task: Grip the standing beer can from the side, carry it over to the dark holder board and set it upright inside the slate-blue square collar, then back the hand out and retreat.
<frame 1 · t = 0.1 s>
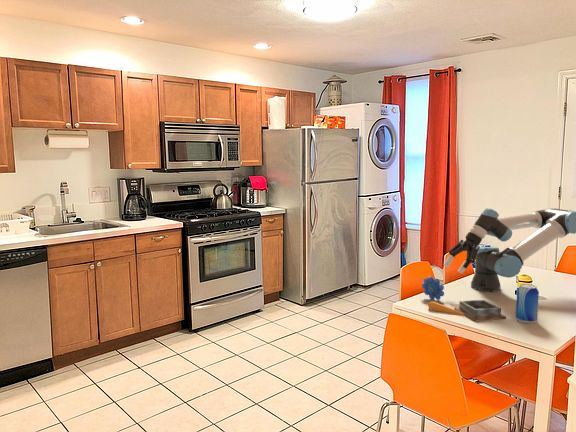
hand: (452, 269, 230), 15 cm above the table, tool tilted 35°, fingers open, 13 cm apart
carrot: (449, 314, 210), on the table
holder: (479, 314, 208), on the table
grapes: (431, 300, 229), on the table
beer can: (526, 321, 199), on the table
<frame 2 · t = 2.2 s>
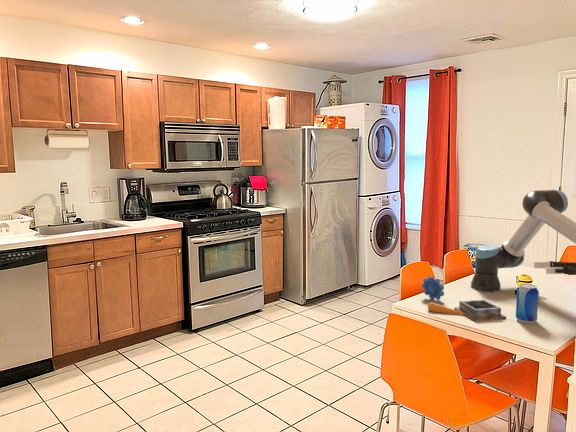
hand: (540, 267, 197), 24 cm above the table, tool horizontal, fingers open, 13 cm apart
carrot: (449, 314, 209), on the table, touching holder
everything else where it was.
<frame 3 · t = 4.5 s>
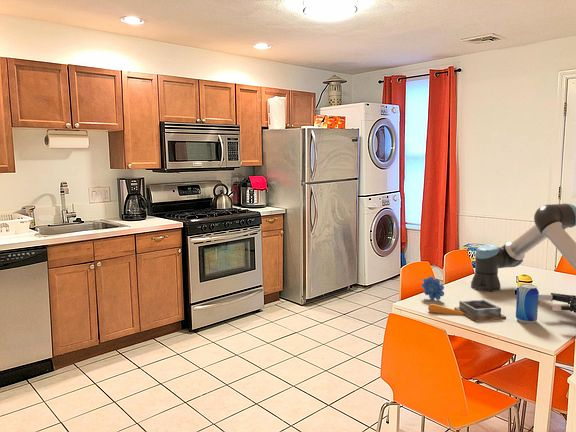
hand: (544, 302, 197), 9 cm above the table, tool horizontal, fingers open, 13 cm apart
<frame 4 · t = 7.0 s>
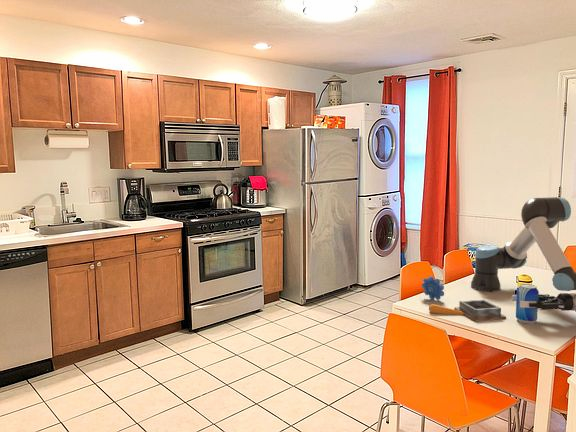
hand: (516, 301, 198), 9 cm above the table, tool horizontal, fingers closed on beer can, 8 cm apart
beer can: (526, 321, 199), on the table, touching gripper
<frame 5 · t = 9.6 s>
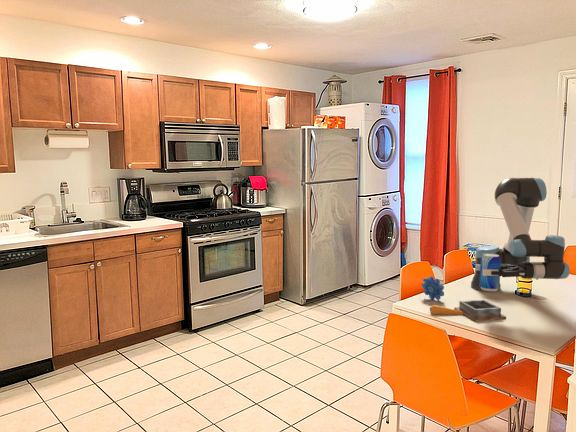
hand: (479, 269, 203), 22 cm above the table, tool horizontal, fingers closed on beer can, 8 cm apart
carrot: (452, 315, 208), on the table
beer can: (489, 289, 204), point 12 cm above the table, touching gripper
everything else where it was.
when the fingers open (11 cm above the table, at t = 12.3 s): beer can drops 1 cm, resting on holder.
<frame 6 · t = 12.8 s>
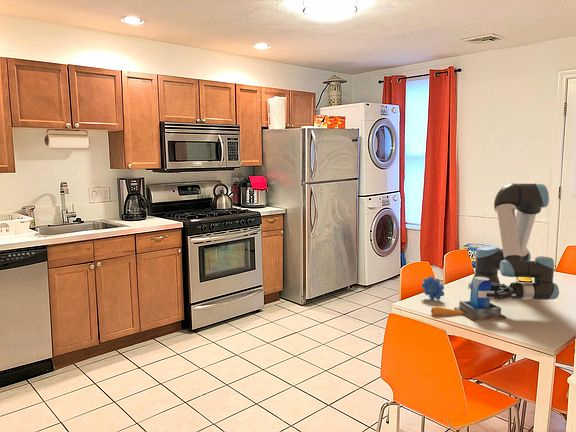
hand: (473, 289, 207), 11 cm above the table, tool horizontal, fingers open, 13 cm apart
carrot: (453, 316, 207), on the table, touching holder
beer can: (479, 312, 208), point 1 cm above the table, touching holder
everything else where it was.
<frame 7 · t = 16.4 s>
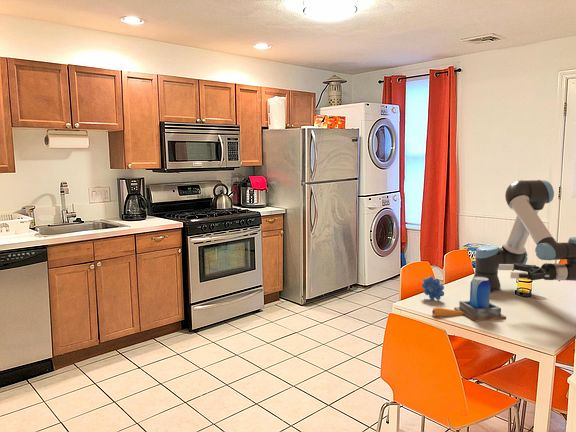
hand: (504, 270, 204), 21 cm above the table, tool horizontal, fingers open, 13 cm apart
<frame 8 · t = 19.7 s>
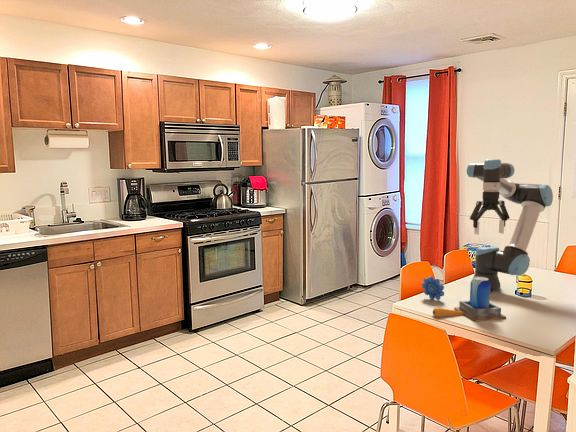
hand: (488, 233, 222), 35 cm above the table, tool pointing down, fingers open, 13 cm apart
at the end: beer can 0.1 cm off-centre on the holder, point 0.8 cm above the holder's base; beer can tilted 0°; the gripper is holding nothing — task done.
